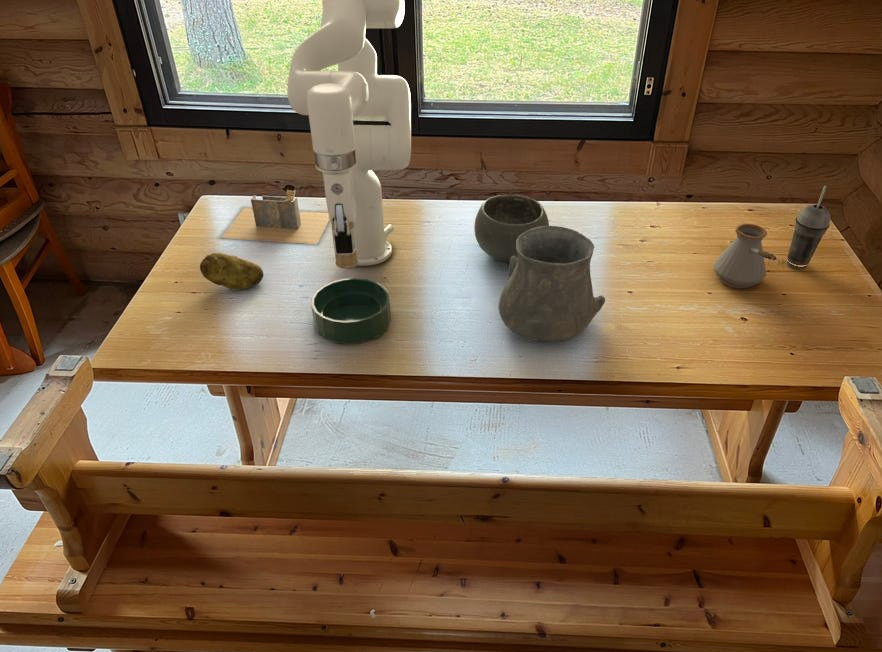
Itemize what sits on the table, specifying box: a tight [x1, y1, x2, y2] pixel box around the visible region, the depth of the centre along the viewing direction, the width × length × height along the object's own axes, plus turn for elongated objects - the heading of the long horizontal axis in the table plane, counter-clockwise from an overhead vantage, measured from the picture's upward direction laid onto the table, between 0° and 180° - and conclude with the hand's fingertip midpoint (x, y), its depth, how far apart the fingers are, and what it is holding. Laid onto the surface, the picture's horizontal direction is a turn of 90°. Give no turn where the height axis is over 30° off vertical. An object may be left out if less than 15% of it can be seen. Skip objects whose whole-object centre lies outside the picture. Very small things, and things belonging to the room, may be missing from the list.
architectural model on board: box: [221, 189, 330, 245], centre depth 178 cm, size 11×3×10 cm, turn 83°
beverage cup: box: [785, 185, 831, 271], centre depth 159 cm, size 7×7×20 cm
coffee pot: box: [713, 223, 781, 289], centre depth 152 cm, size 21×12×15 cm, turn 176°
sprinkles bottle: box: [330, 217, 358, 270], centre depth 134 cm, size 5×5×14 cm
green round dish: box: [310, 277, 392, 345], centre depth 146 cm, size 16×16×6 cm
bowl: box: [473, 194, 550, 263], centre depth 165 cm, size 18×18×13 cm
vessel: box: [498, 225, 606, 343], centre depth 141 cm, size 22×22×20 cm
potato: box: [199, 252, 264, 291], centre depth 156 cm, size 8×13×8 cm, turn 80°
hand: (344, 245), depth 136 cm, fingers closed on sprinkles bottle, 4 cm apart
